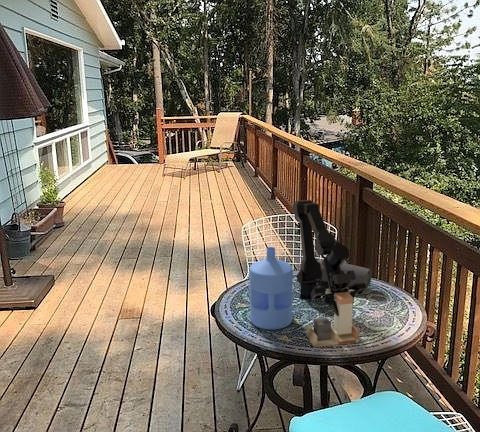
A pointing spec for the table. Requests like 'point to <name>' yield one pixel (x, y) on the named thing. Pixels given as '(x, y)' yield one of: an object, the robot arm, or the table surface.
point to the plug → (343, 313)
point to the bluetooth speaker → (360, 272)
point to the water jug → (271, 292)
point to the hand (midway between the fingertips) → (344, 314)
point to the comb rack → (329, 334)
